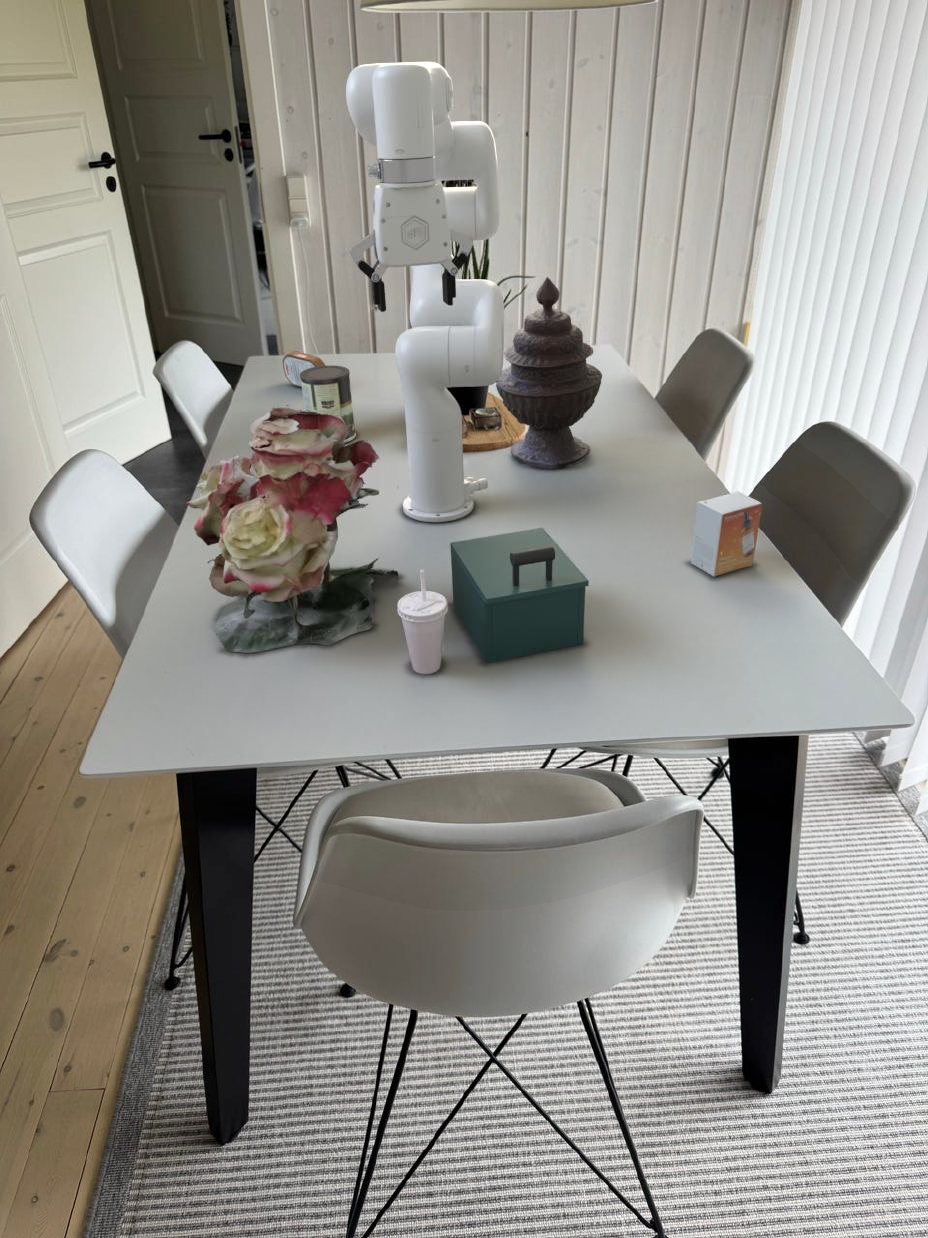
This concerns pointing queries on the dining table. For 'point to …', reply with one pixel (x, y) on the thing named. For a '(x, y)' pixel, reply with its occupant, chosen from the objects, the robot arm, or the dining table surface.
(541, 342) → the decorative urn
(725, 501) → the small box
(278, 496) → the rose bouquet
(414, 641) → the smoothie
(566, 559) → the bin lid
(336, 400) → the coffee can
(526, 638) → the bin
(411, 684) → the dining table surface
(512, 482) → the dining table surface
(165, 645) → the dining table surface
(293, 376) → the tin
